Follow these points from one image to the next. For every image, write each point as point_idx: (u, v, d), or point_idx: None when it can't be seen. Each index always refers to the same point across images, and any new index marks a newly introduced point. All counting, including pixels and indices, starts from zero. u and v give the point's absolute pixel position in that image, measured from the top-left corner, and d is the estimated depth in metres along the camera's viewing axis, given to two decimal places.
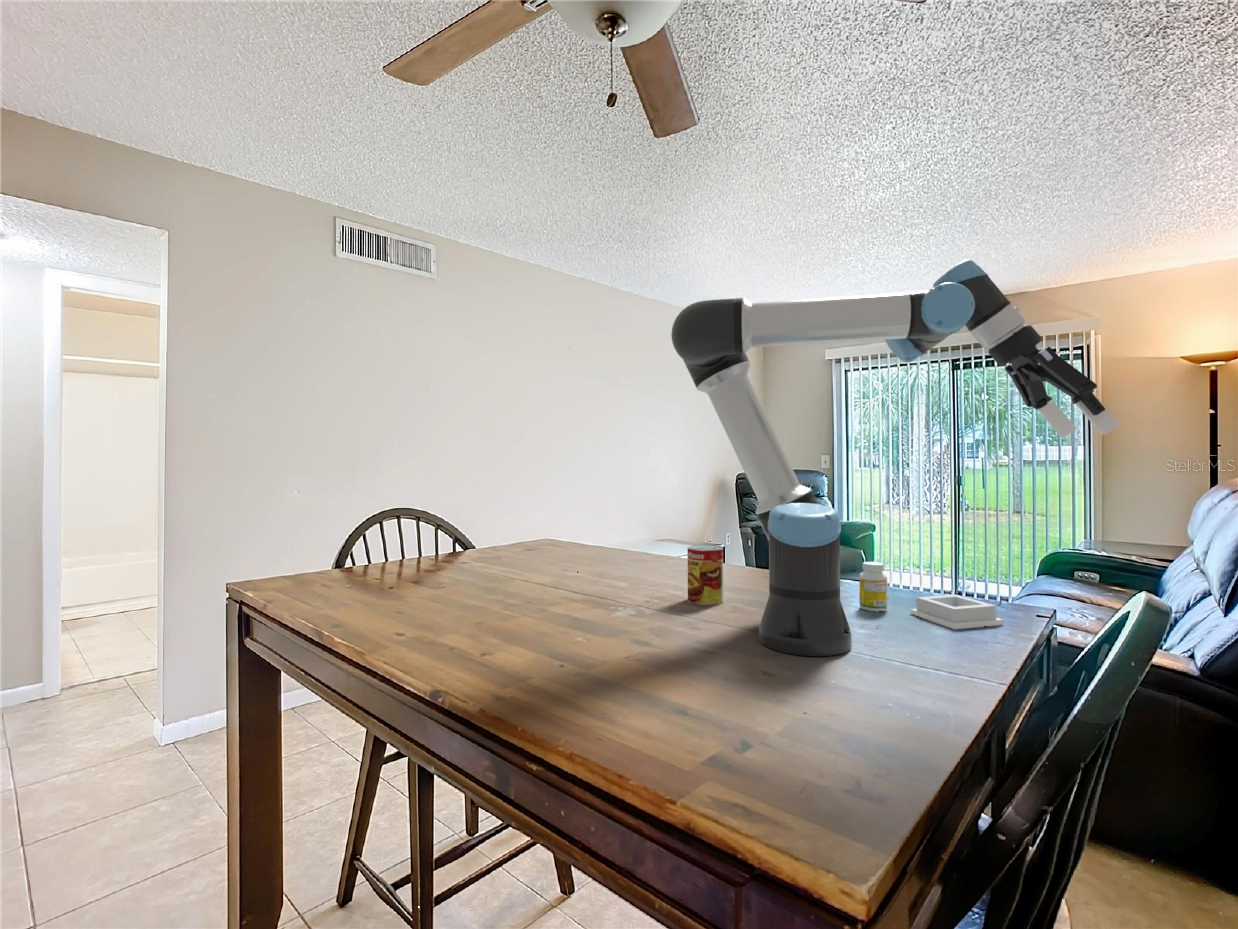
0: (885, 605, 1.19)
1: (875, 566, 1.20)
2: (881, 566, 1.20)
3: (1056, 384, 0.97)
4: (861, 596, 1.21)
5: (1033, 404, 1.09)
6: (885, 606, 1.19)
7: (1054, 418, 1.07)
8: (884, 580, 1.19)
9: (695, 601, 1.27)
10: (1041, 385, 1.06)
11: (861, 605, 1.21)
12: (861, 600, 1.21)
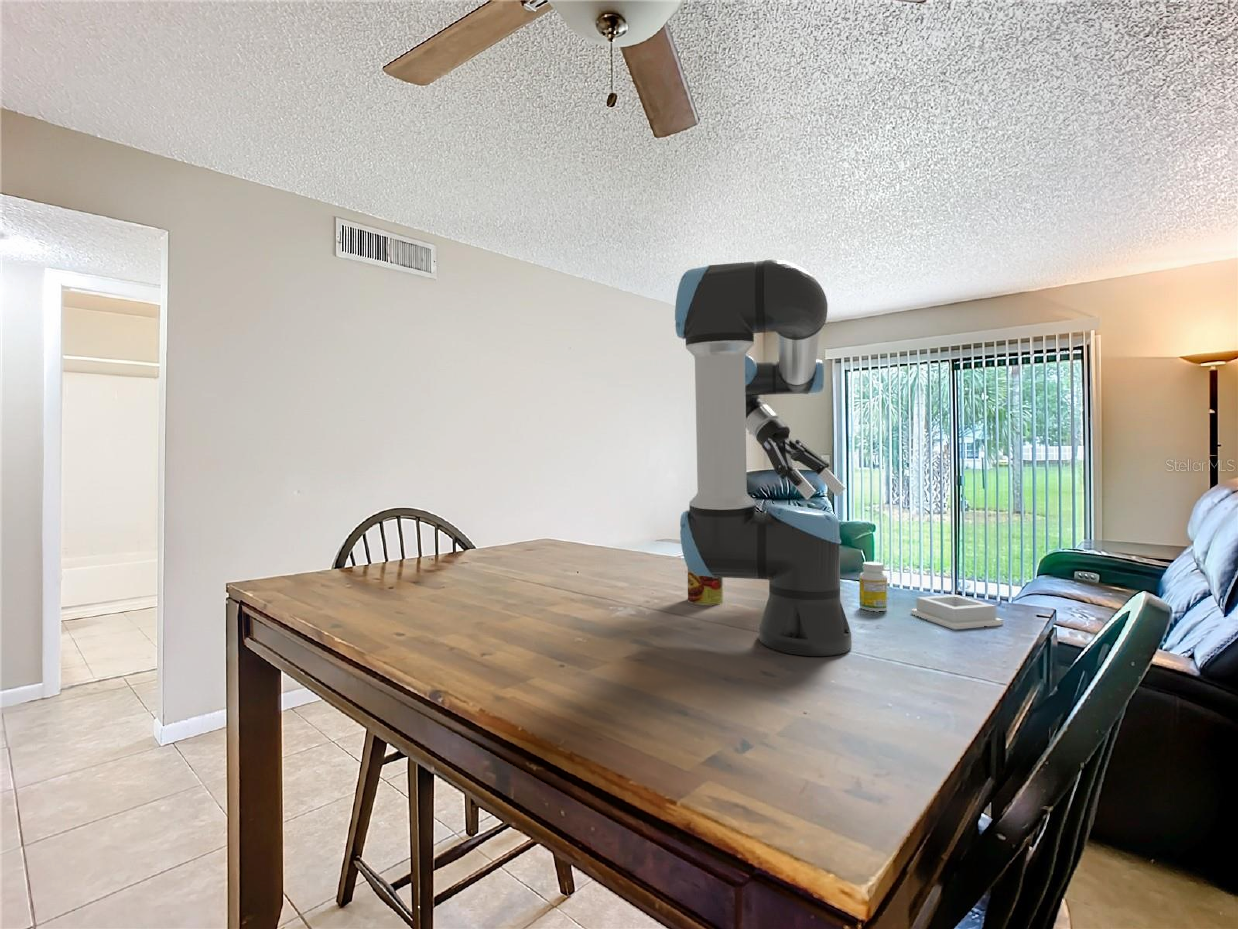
0: (885, 605, 1.19)
1: (875, 566, 1.20)
2: (881, 566, 1.20)
3: (812, 456, 1.37)
4: (861, 596, 1.21)
5: (790, 465, 1.27)
6: (885, 606, 1.19)
7: None
8: (884, 580, 1.19)
9: (695, 601, 1.27)
10: None
11: (861, 605, 1.21)
12: (861, 600, 1.21)
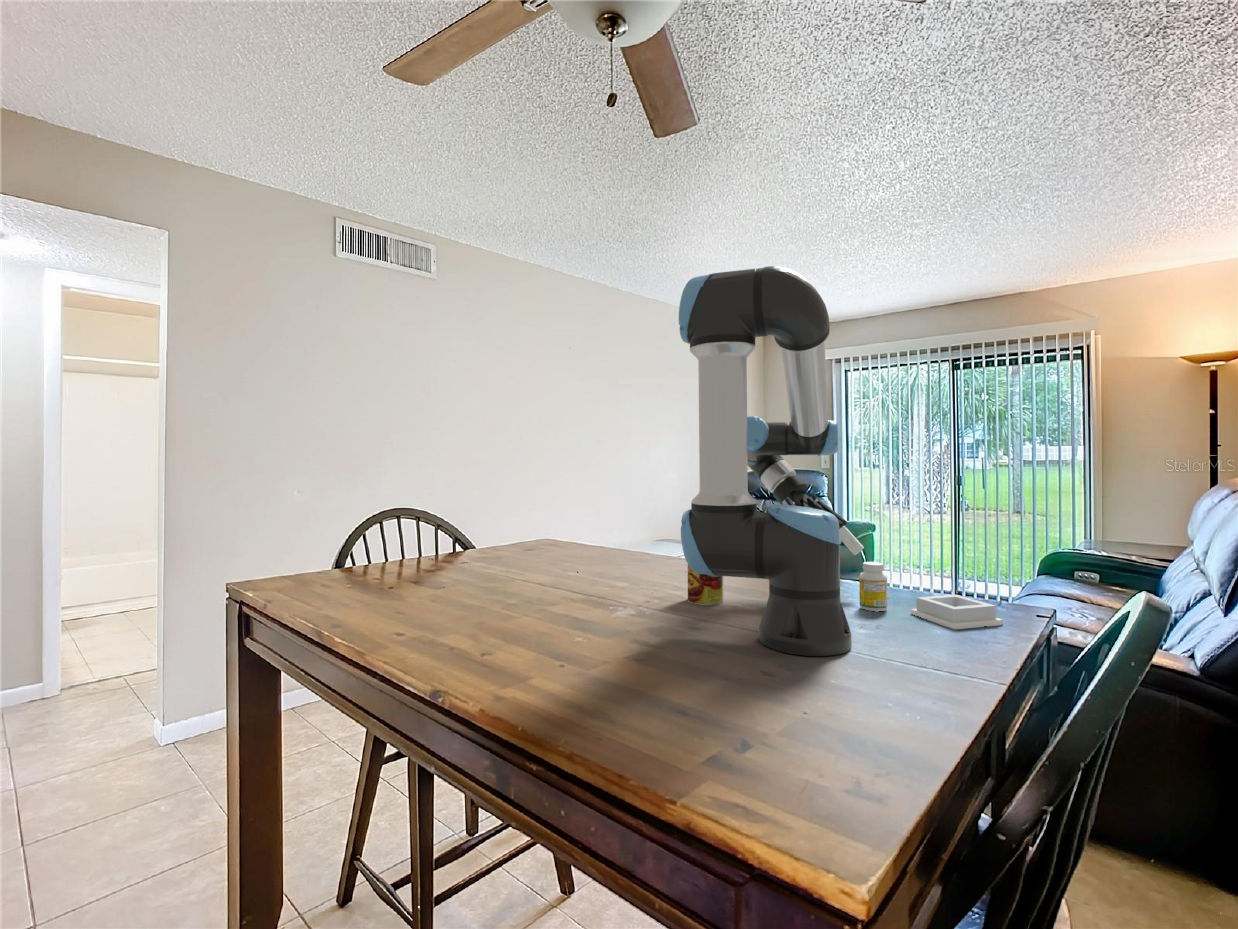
0: (885, 605, 1.19)
1: (875, 566, 1.20)
2: (881, 566, 1.20)
3: None
4: (861, 596, 1.21)
5: None
6: (885, 606, 1.19)
7: None
8: (884, 580, 1.19)
9: (695, 601, 1.27)
10: None
11: (861, 605, 1.21)
12: (861, 600, 1.21)
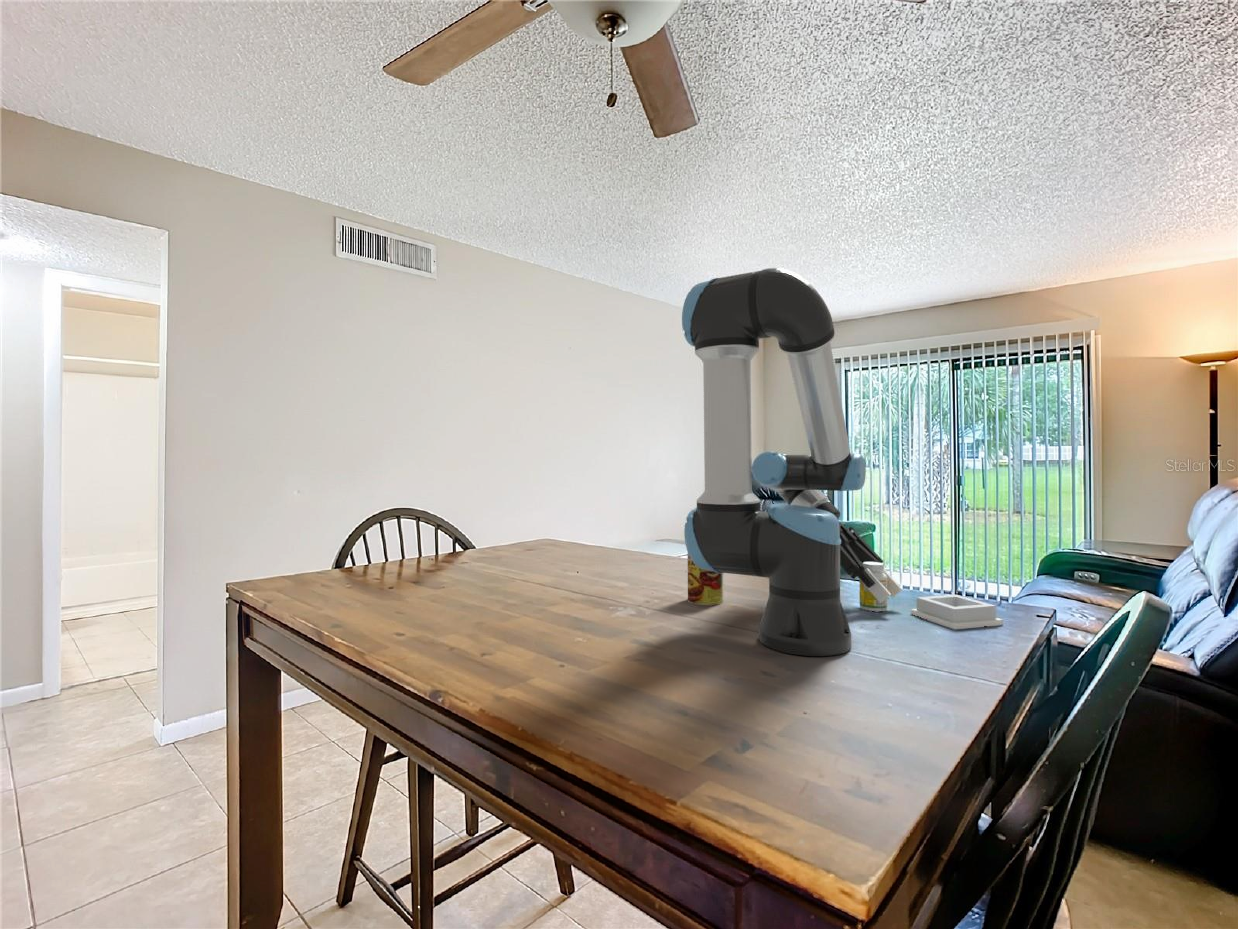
0: (885, 605, 1.19)
1: (875, 566, 1.20)
2: (881, 566, 1.20)
3: (864, 548, 1.26)
4: (861, 596, 1.21)
5: (860, 564, 1.20)
6: (885, 606, 1.19)
7: None
8: (884, 580, 1.19)
9: (695, 601, 1.27)
10: None
11: (861, 605, 1.21)
12: (861, 600, 1.21)
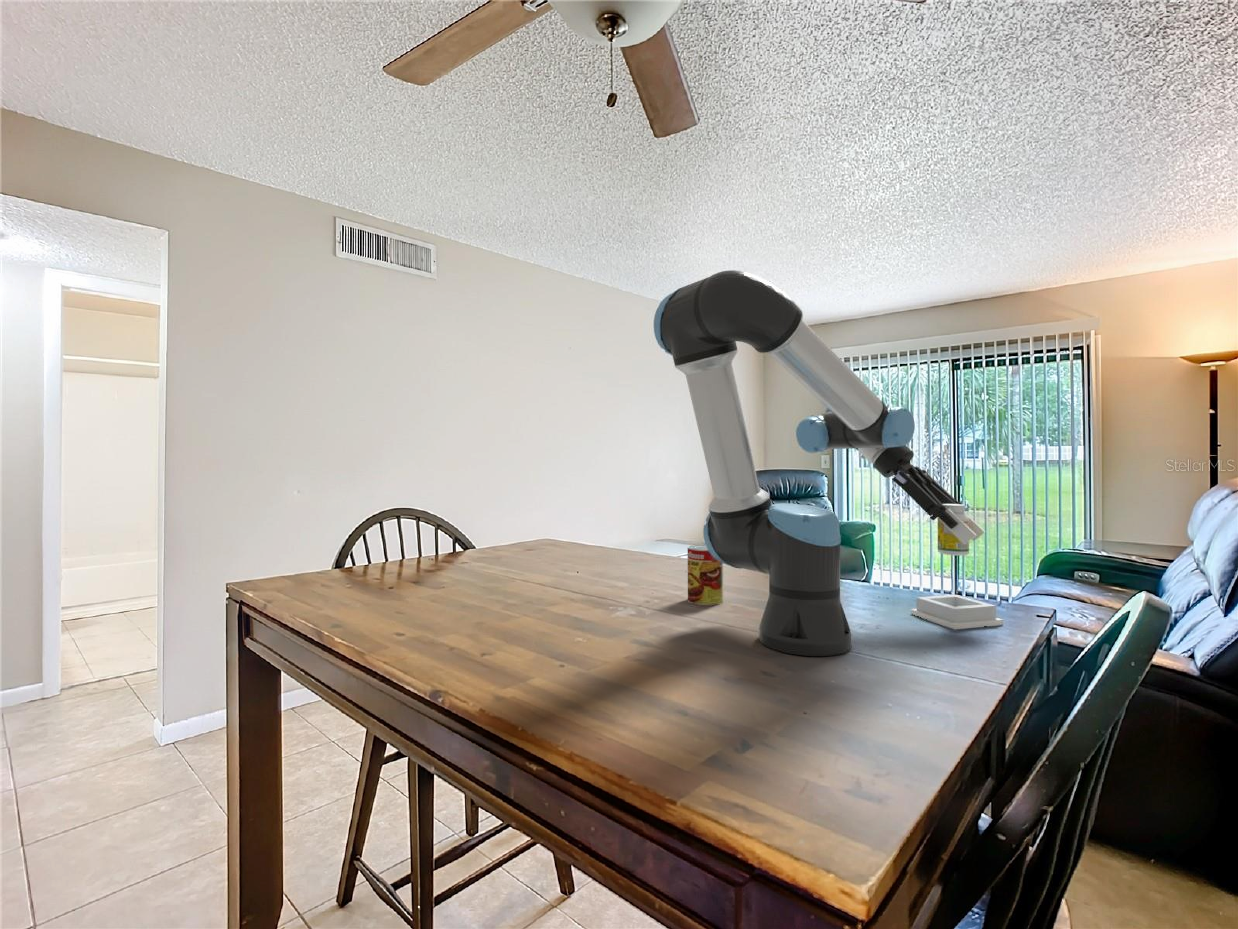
0: (967, 548, 1.11)
1: (957, 506, 1.12)
2: (963, 507, 1.12)
3: (940, 491, 1.18)
4: (940, 539, 1.13)
5: (941, 504, 1.11)
6: (967, 549, 1.11)
7: None
8: (966, 522, 1.11)
9: (695, 601, 1.27)
10: None
11: (940, 549, 1.13)
12: (940, 544, 1.13)
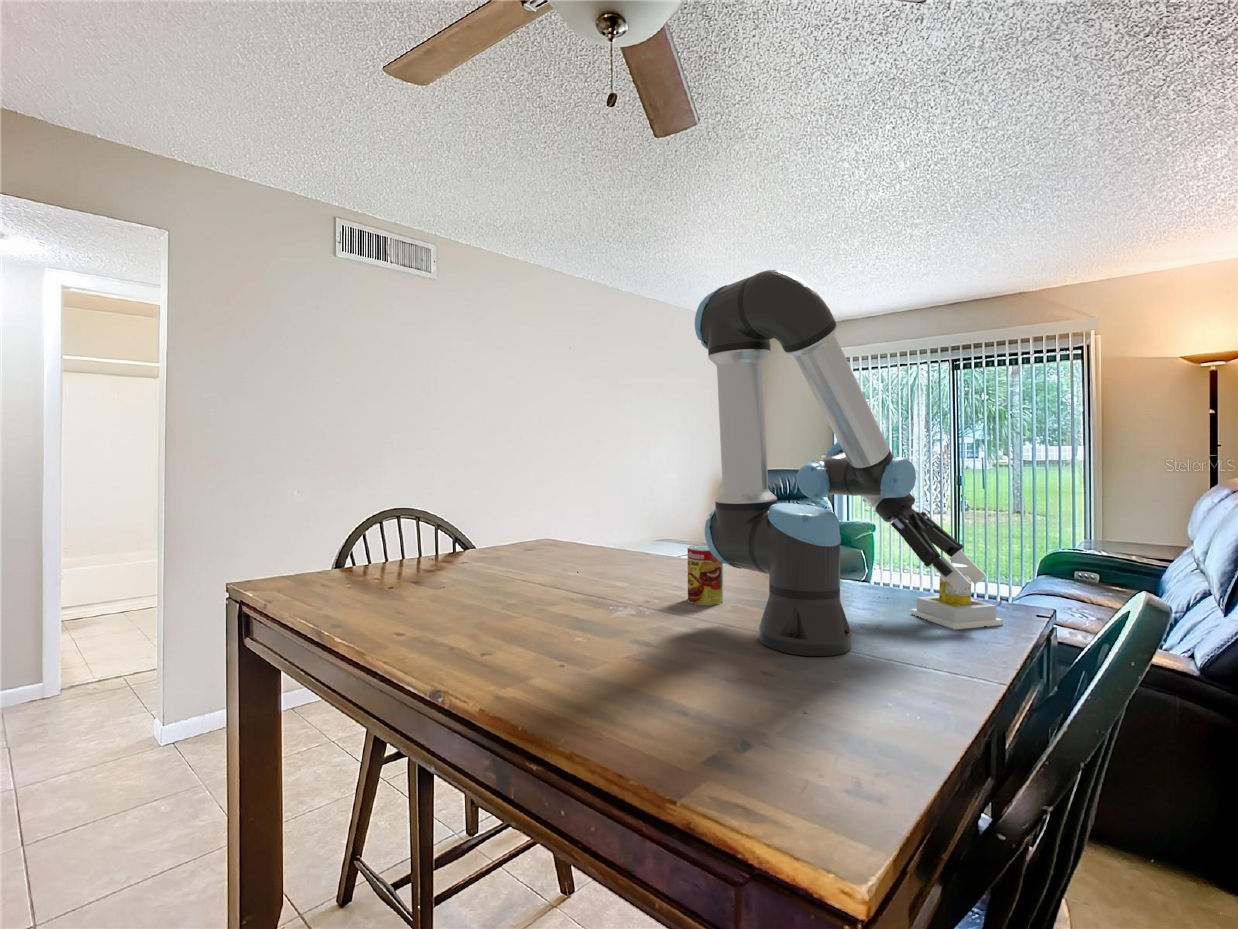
0: None
1: (959, 568, 1.11)
2: (965, 568, 1.12)
3: (942, 534, 1.19)
4: (942, 599, 1.13)
5: (936, 551, 1.10)
6: None
7: None
8: None
9: (695, 601, 1.27)
10: None
11: None
12: None
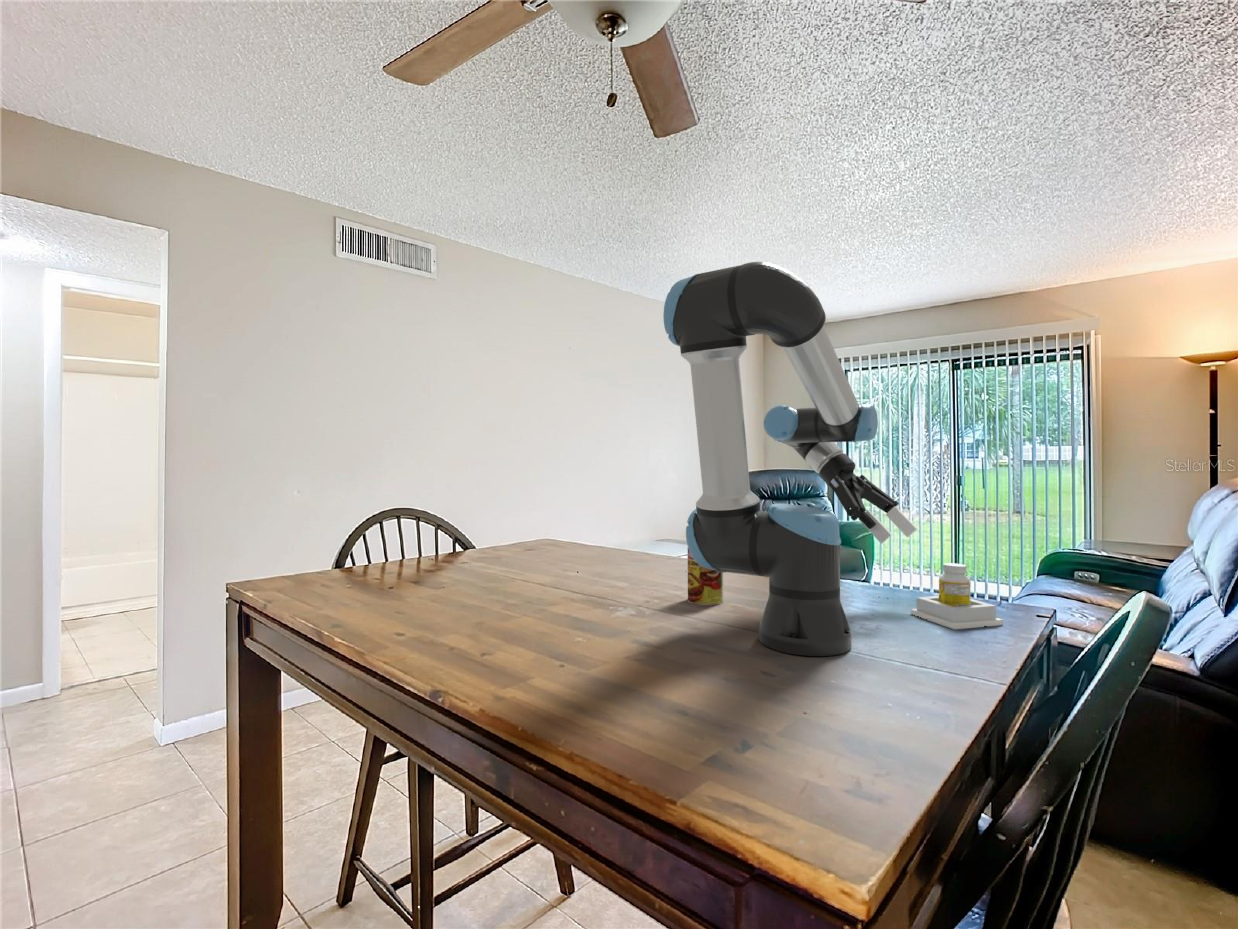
0: None
1: (957, 567, 1.12)
2: (964, 568, 1.12)
3: (879, 494, 1.29)
4: (941, 599, 1.13)
5: (862, 506, 1.19)
6: None
7: None
8: (967, 583, 1.11)
9: (695, 601, 1.27)
10: None
11: None
12: None
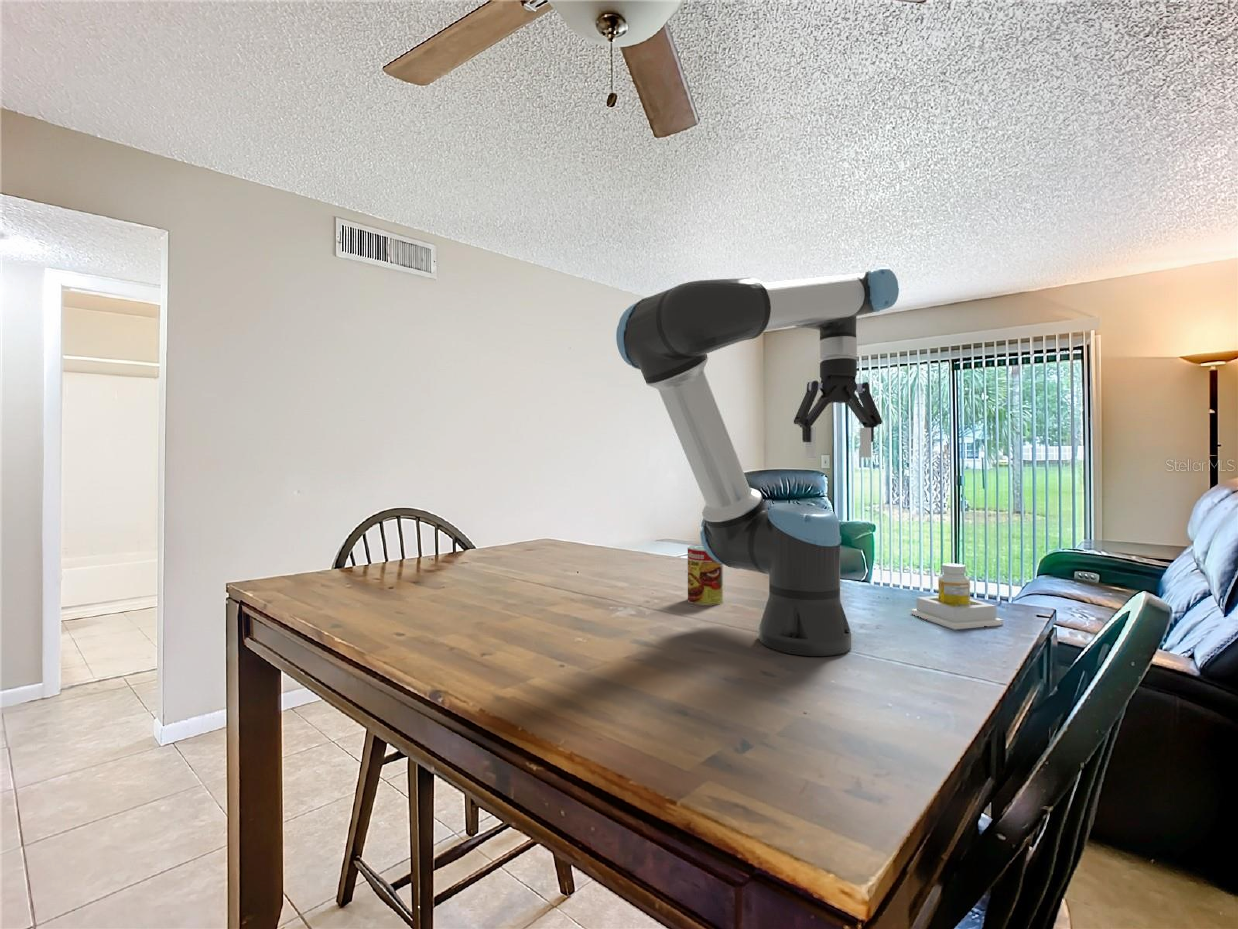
0: None
1: (956, 568, 1.12)
2: (963, 568, 1.12)
3: (863, 409, 1.26)
4: (941, 600, 1.13)
5: (811, 421, 1.23)
6: None
7: None
8: (966, 583, 1.11)
9: (695, 601, 1.27)
10: None
11: None
12: None
